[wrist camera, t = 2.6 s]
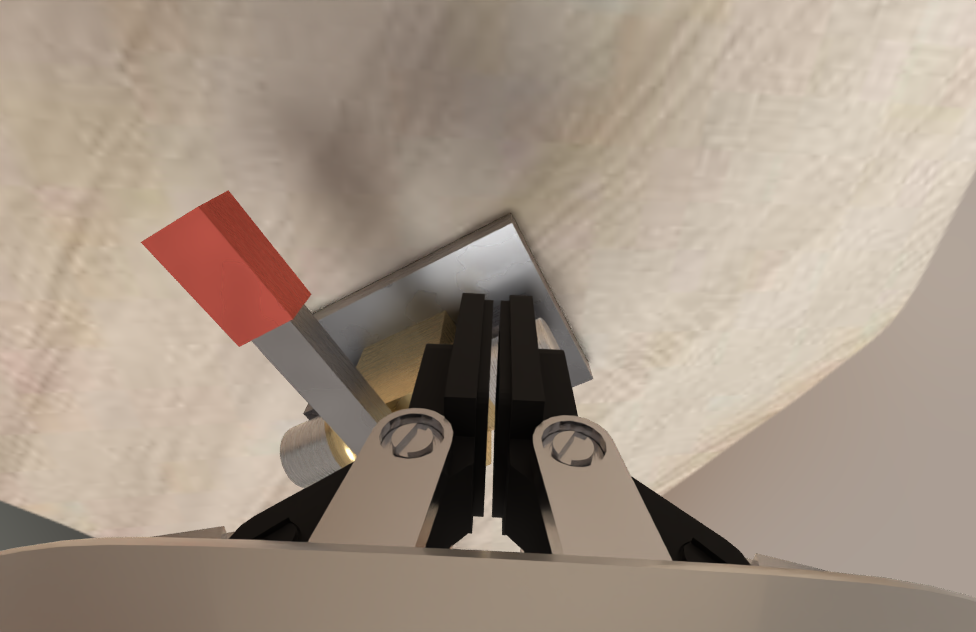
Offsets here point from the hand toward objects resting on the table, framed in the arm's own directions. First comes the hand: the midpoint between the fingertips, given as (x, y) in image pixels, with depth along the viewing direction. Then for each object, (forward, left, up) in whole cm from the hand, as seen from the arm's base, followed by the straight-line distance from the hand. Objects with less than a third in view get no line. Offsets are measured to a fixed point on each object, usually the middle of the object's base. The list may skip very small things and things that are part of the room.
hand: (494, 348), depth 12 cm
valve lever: (+1, -7, -5) cm, 9 cm away
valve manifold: (+6, -7, -13) cm, 16 cm away
